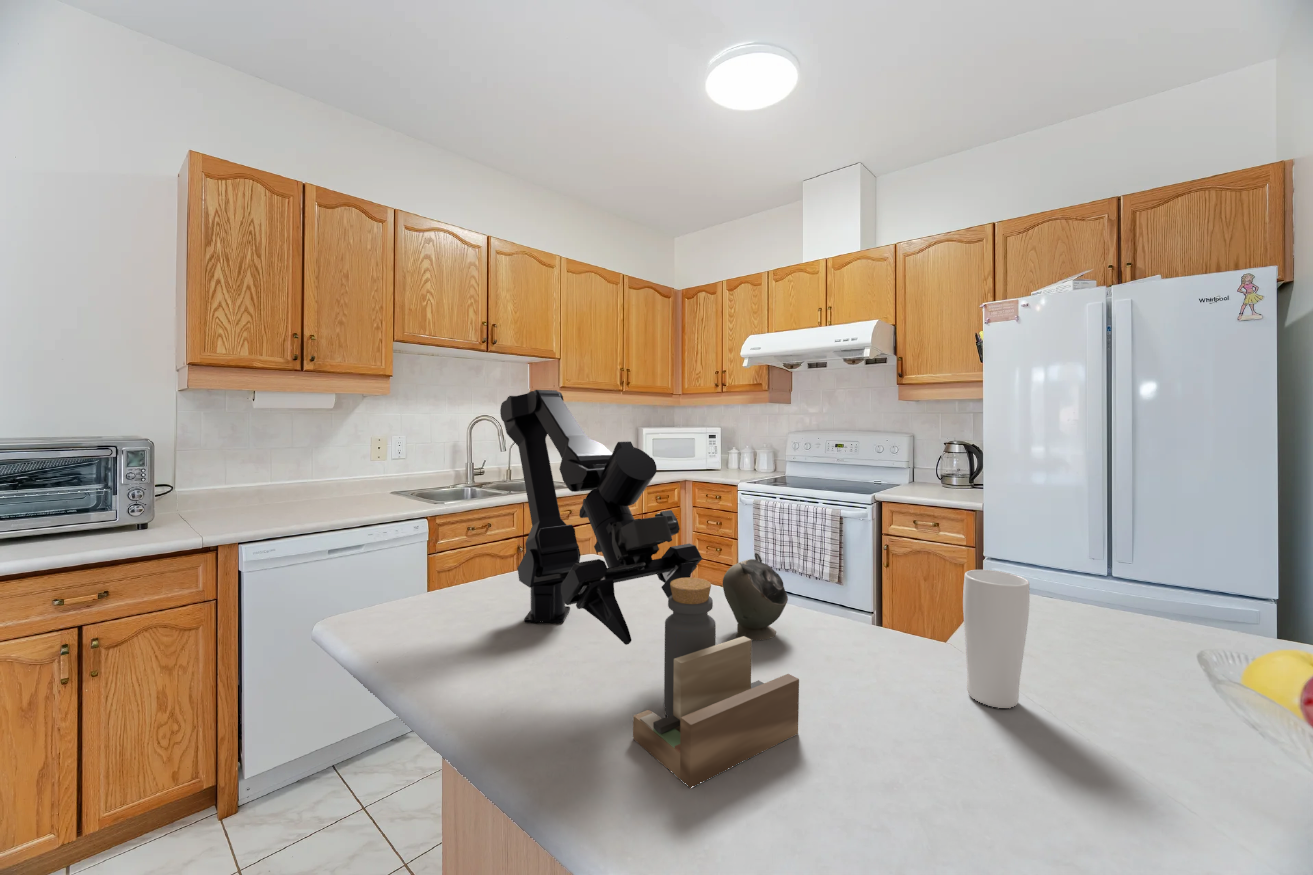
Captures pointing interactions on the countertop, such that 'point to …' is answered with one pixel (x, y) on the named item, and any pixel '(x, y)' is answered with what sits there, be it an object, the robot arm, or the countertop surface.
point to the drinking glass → (995, 635)
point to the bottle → (686, 627)
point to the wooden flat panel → (708, 679)
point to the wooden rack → (723, 731)
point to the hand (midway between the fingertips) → (660, 633)
